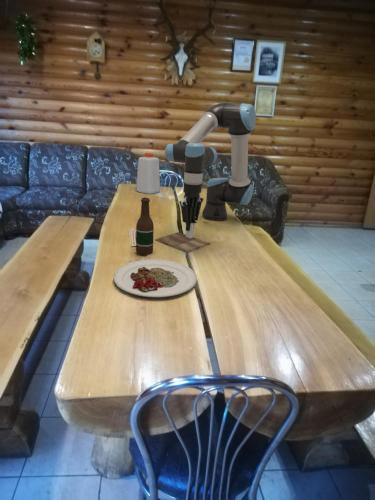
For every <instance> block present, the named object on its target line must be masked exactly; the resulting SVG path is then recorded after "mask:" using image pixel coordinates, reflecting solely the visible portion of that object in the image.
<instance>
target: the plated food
mask: <svg viewBox="0 0 375 500" xmlns="http://www.w3.org/2000/svg"><path fill="white" fill-rule="evenodd" d="M112 278H113V282H114V284H115V285H116V286H117V287H118V288H119V289H121V290H122V291H123V292H126V293H128V294H132V295H134V296H140V297H146V298H147V297H148V298H166V297H167V298H168V297H172V296H173V297H175V296H178V295H181V294H183V293H186V292H188V291H189V290H191V289H192V288H193V287H194V286H195V285H196V283H197V274H196V272H195V271H194V270H193V269H192V268H190V267H189V266H187V265H185V264H183V263H180V262H178V261H174V260H169V259H160V258H159V259H158V258H149V259H148V258H146V259H140V260H134V261H131V262H128V263H126V264H123V265H121V266H120V267H118V268H117V269H116V270H115V272H114V273H113V277H112Z"/></svg>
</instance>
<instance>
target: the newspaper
mask: <svg viewBox="0 0 375 500" xmlns="http://www.w3.org/2000/svg"><path fill="white" fill-rule="evenodd" d="M128 237H129V246H130V247H129V248H131V247H136V228H130V229H128Z"/></svg>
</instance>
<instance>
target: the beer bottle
mask: <svg viewBox="0 0 375 500" xmlns="http://www.w3.org/2000/svg"><path fill="white" fill-rule="evenodd" d="M140 202H141V203H140V204H141V205H140V216H139V218H138V219H137V222H136V227H135V229H136V246H135V254H136V255H138V256H140V257H148V255H151V254H154V253H153V252H154V234H155V233H154V231H155V230H154V229H155V228H154V227H155V226H154V221H153V219H152V218H151V215H150V202H151V201H150V198H149V197H142V198H141V200H140Z"/></svg>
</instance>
